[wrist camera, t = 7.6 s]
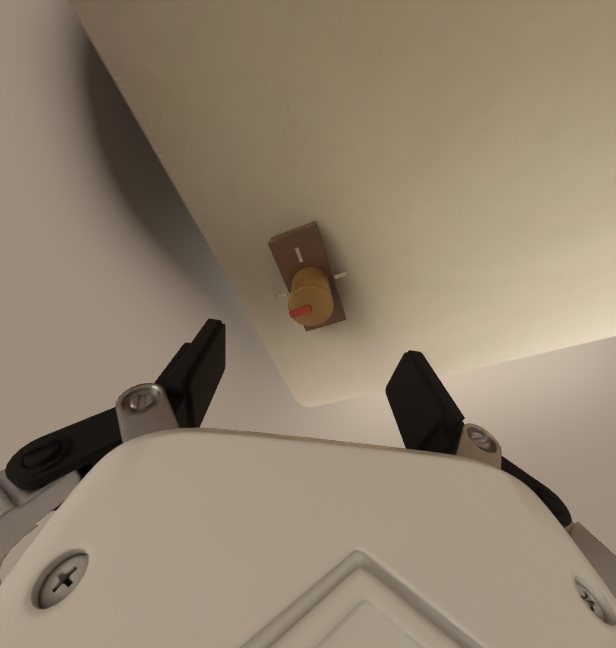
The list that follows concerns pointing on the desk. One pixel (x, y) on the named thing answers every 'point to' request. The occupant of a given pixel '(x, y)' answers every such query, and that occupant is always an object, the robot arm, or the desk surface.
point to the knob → (310, 297)
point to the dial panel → (305, 263)
